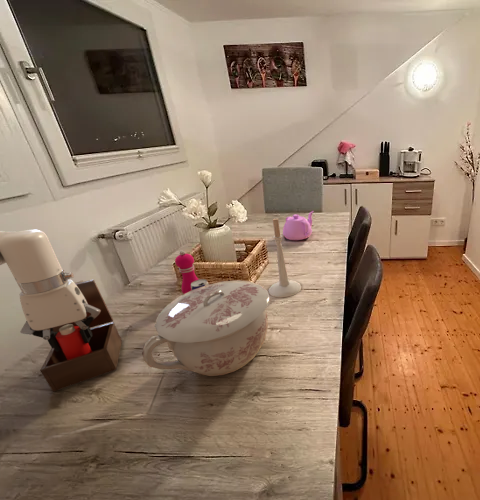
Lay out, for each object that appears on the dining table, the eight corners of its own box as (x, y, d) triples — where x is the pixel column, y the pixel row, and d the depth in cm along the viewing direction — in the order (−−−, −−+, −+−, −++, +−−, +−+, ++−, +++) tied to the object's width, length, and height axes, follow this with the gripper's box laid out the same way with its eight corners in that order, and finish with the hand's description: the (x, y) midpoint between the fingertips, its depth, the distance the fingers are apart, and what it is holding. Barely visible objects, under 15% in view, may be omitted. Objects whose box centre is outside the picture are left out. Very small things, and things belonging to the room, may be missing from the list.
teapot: (326, 235, 170) (325, 213, 165) (297, 245, 156) (295, 221, 151) (304, 227, 184) (302, 207, 179) (275, 236, 170) (272, 214, 165)
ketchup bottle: (68, 373, 73) (47, 335, 68) (78, 360, 77) (60, 323, 72) (90, 369, 74) (72, 331, 69) (99, 356, 78) (82, 319, 73)
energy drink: (204, 318, 96) (196, 288, 92) (195, 313, 99) (186, 284, 94) (218, 310, 101) (210, 281, 96) (209, 306, 103) (201, 277, 99)
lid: (93, 280, 76) (95, 272, 80) (28, 295, 70) (34, 285, 74) (112, 321, 83) (114, 312, 86) (55, 337, 77) (59, 327, 80)
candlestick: (299, 279, 120) (291, 211, 108) (303, 295, 108) (294, 220, 97) (268, 284, 117) (257, 215, 105) (269, 300, 105) (256, 224, 94)
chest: (117, 371, 76) (106, 349, 73) (54, 394, 70) (39, 370, 66) (122, 342, 86) (113, 321, 83) (68, 359, 80) (56, 338, 77)
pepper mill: (209, 295, 110) (196, 249, 102) (191, 304, 104) (176, 256, 97) (198, 291, 114) (186, 245, 106) (180, 299, 108) (166, 252, 100)
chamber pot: (278, 318, 95) (269, 263, 87) (276, 383, 70) (264, 315, 62) (189, 332, 90) (171, 275, 82) (153, 407, 65) (122, 337, 57)
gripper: (93, 267, 73) (117, 325, 80) (-2, 285, 64) (33, 348, 71) (87, 279, 67) (113, 340, 74) (-18, 301, 58) (22, 367, 65)
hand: (74, 343), depth 72 cm, fingers closed on ketchup bottle, 4 cm apart
